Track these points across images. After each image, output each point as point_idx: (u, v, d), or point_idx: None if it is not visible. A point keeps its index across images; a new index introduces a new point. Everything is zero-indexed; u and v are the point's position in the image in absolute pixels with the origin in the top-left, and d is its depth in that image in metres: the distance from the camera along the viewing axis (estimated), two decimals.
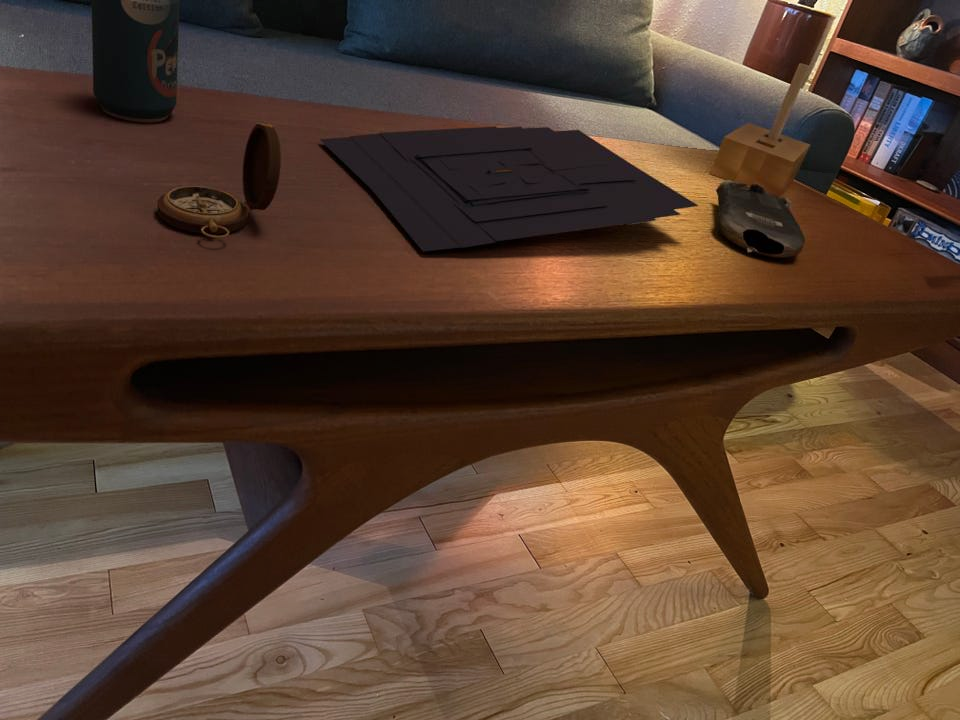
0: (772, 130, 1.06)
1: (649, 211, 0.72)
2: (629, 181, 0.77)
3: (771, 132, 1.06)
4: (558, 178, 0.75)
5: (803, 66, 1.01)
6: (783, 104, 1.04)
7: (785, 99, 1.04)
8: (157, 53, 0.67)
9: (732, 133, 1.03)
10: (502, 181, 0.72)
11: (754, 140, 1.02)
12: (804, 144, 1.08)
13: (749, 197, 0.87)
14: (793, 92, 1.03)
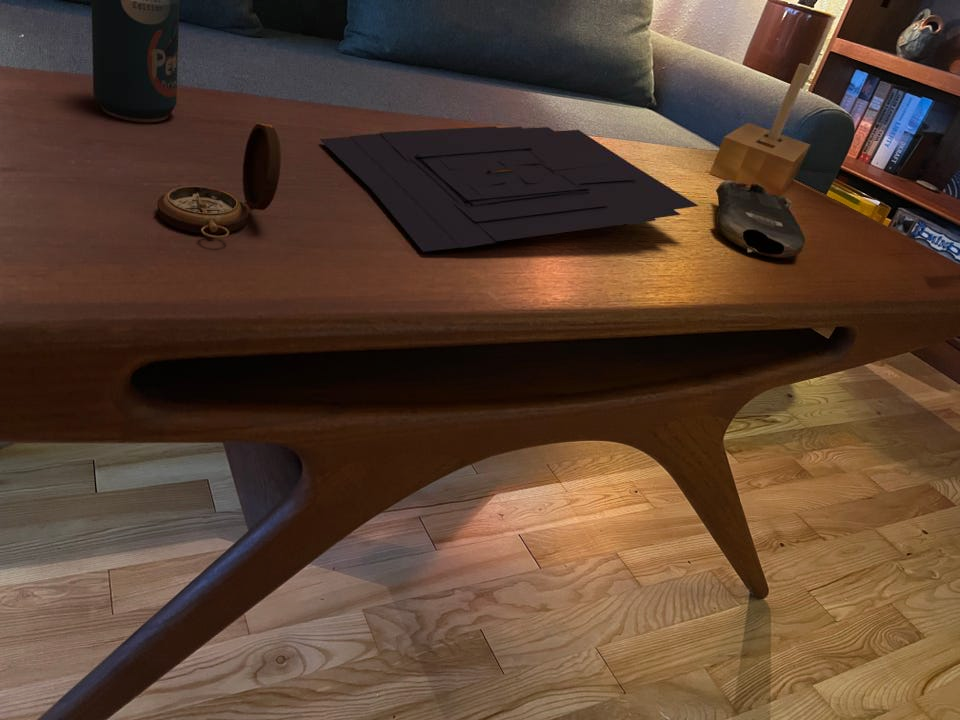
0: (772, 130, 1.06)
1: (649, 211, 0.72)
2: (629, 181, 0.77)
3: (771, 132, 1.06)
4: (558, 178, 0.75)
5: (803, 66, 1.01)
6: (783, 104, 1.04)
7: (785, 99, 1.04)
8: (157, 53, 0.67)
9: (732, 133, 1.03)
10: (502, 181, 0.72)
11: (754, 140, 1.02)
12: (804, 144, 1.08)
13: (749, 197, 0.87)
14: (793, 92, 1.03)
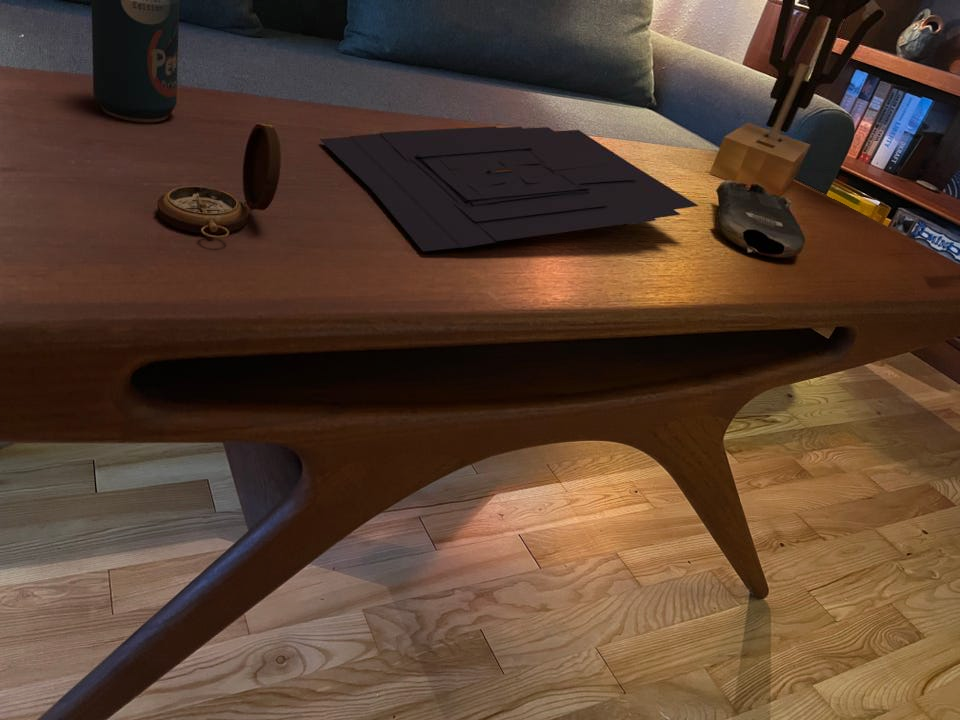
0: (772, 130, 1.06)
1: (649, 211, 0.72)
2: (629, 181, 0.77)
3: (771, 132, 1.06)
4: (558, 178, 0.75)
5: (803, 66, 1.01)
6: (783, 104, 1.04)
7: (785, 99, 1.04)
8: (157, 53, 0.67)
9: (732, 133, 1.03)
10: (502, 181, 0.72)
11: (754, 140, 1.02)
12: (804, 144, 1.08)
13: (749, 197, 0.87)
14: (793, 92, 1.03)
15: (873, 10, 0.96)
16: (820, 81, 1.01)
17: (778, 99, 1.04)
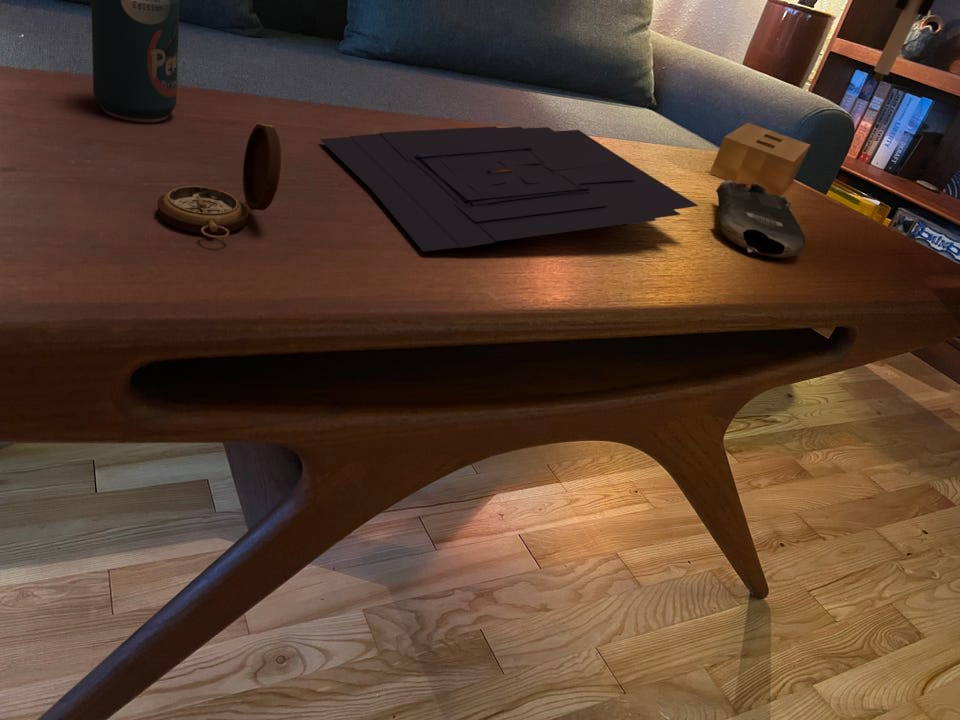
0: (903, 15, 0.72)
1: (649, 211, 0.72)
2: (629, 181, 0.77)
3: (901, 18, 0.73)
4: (558, 178, 0.75)
5: None
6: None
7: None
8: (157, 53, 0.67)
9: (732, 133, 1.03)
10: (502, 181, 0.72)
11: (754, 140, 1.02)
12: (804, 144, 1.08)
13: (749, 197, 0.87)
14: None
15: None
16: None
17: None
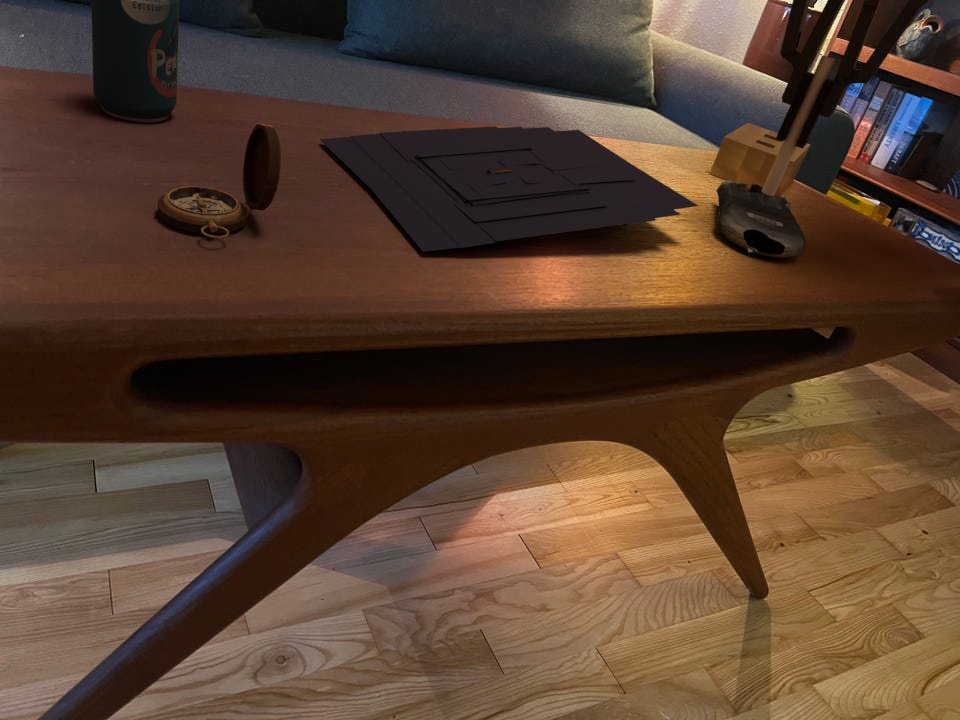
0: (784, 145, 0.79)
1: (649, 211, 0.72)
2: (629, 181, 0.77)
3: (783, 148, 0.80)
4: (558, 178, 0.75)
5: (827, 59, 0.75)
6: (799, 111, 0.78)
7: (802, 104, 0.77)
8: (157, 52, 0.67)
9: (732, 133, 1.03)
10: (502, 181, 0.72)
11: (754, 140, 1.02)
12: None
13: (749, 197, 0.87)
14: (813, 95, 0.76)
15: None
16: (850, 80, 0.74)
17: (792, 104, 0.77)
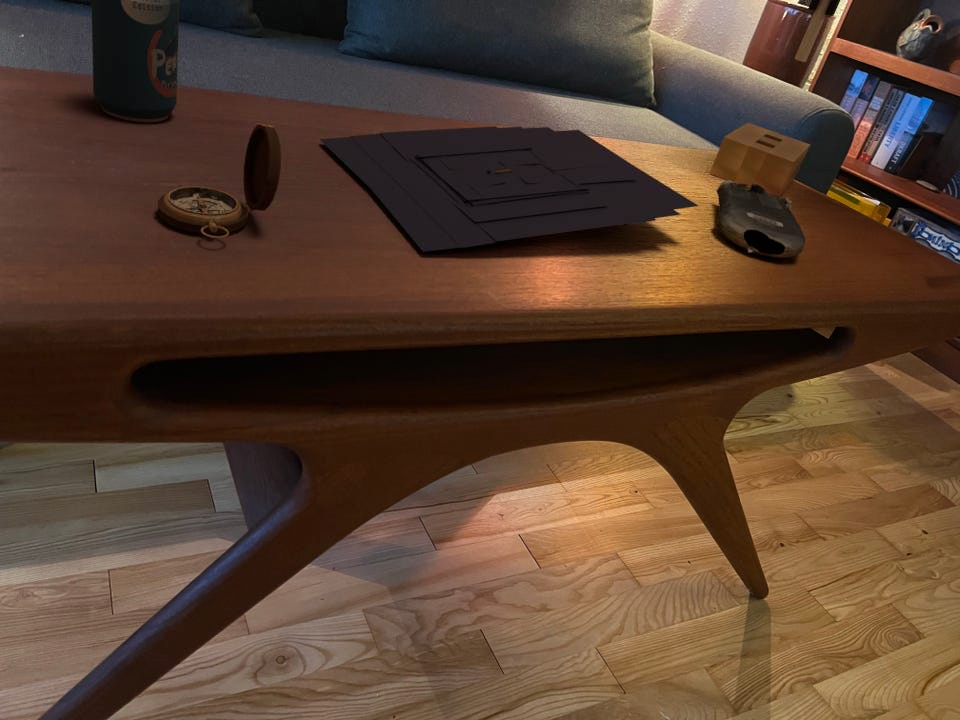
0: (815, 15, 0.93)
1: (649, 211, 0.72)
2: (629, 181, 0.77)
3: (813, 18, 0.93)
4: (558, 178, 0.75)
5: None
6: None
7: None
8: (157, 53, 0.67)
9: (732, 133, 1.03)
10: (502, 181, 0.72)
11: (754, 140, 1.02)
12: (804, 144, 1.08)
13: (750, 197, 0.87)
14: None
15: None
16: None
17: None
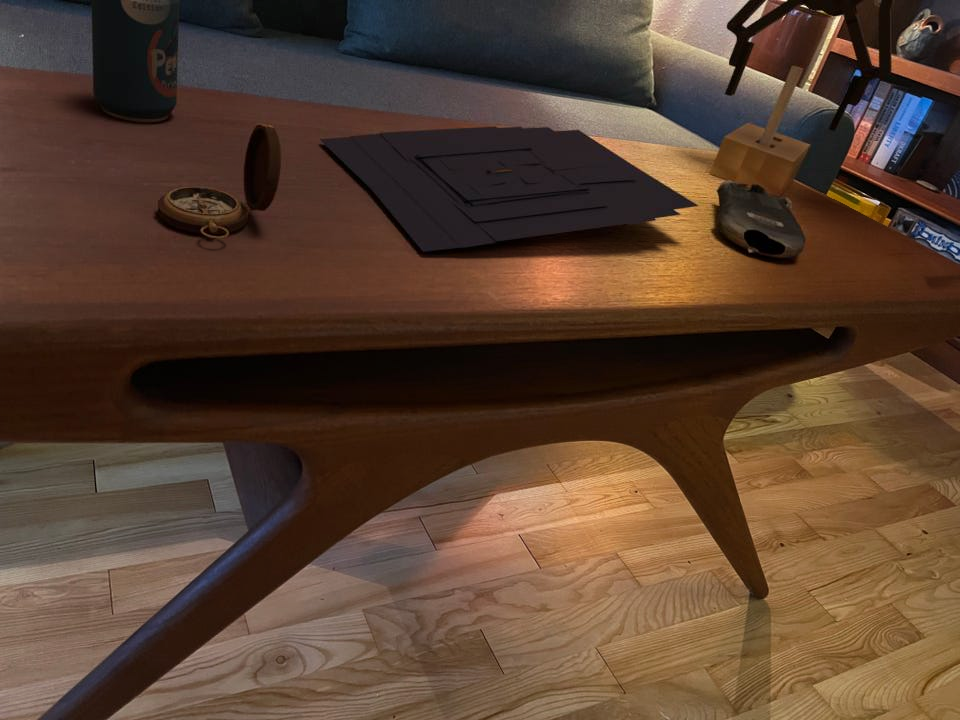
0: (764, 135, 1.01)
1: (649, 211, 0.72)
2: (629, 181, 0.77)
3: (763, 138, 1.02)
4: (558, 178, 0.75)
5: (796, 69, 0.97)
6: (775, 108, 1.00)
7: (777, 103, 0.99)
8: (157, 53, 0.67)
9: (732, 133, 1.03)
10: (502, 181, 0.72)
11: (754, 140, 1.02)
12: (804, 144, 1.08)
13: (750, 197, 0.87)
14: (785, 96, 0.98)
15: None
16: (874, 71, 0.93)
17: (737, 66, 0.99)
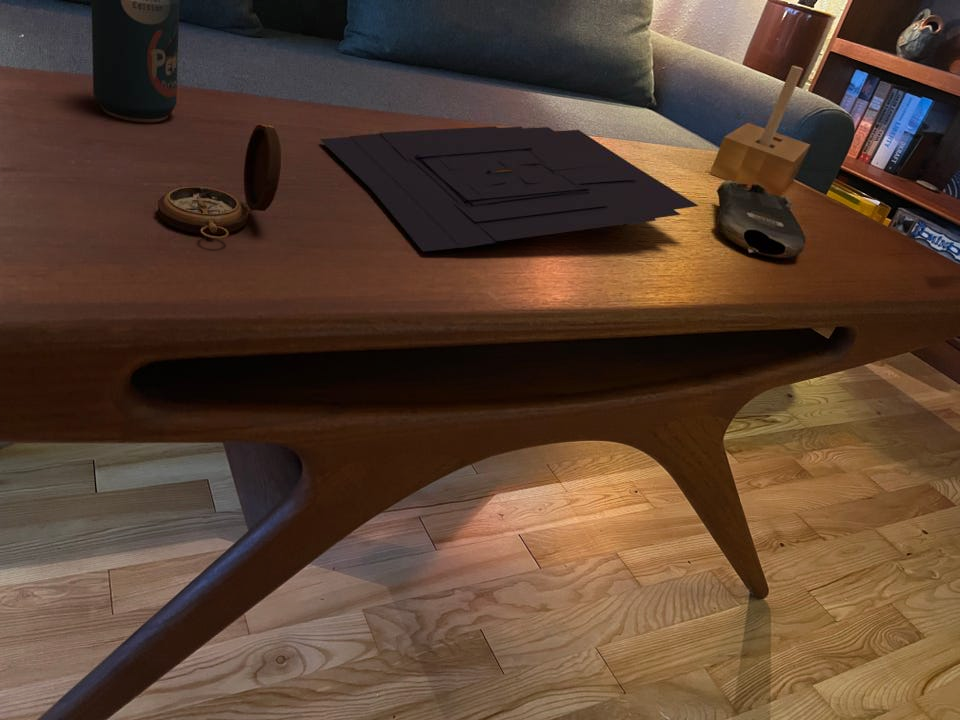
0: (764, 135, 1.01)
1: (649, 211, 0.72)
2: (629, 181, 0.77)
3: (763, 138, 1.02)
4: (558, 178, 0.75)
5: (796, 69, 0.97)
6: (775, 108, 1.00)
7: (777, 103, 0.99)
8: (157, 53, 0.67)
9: (732, 133, 1.03)
10: (502, 181, 0.72)
11: (754, 140, 1.02)
12: (804, 144, 1.08)
13: (750, 197, 0.87)
14: (785, 96, 0.98)
15: None
16: None
17: None
